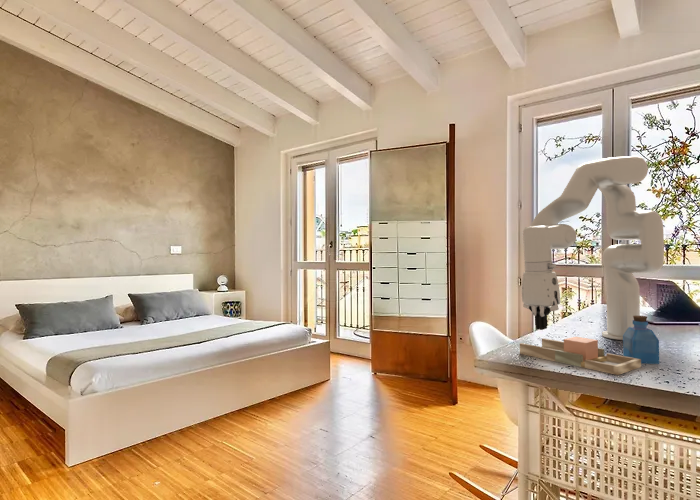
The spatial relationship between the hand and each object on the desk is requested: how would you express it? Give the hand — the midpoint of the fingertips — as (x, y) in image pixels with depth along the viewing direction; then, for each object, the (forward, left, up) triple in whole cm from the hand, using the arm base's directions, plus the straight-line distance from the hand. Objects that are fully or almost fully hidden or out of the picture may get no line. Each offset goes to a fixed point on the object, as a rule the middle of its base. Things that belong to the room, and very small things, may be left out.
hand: (541, 328), depth 129 cm
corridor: (+1, +11, -7) cm, 13 cm away
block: (+2, +13, -7) cm, 14 cm away
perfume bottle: (-12, +22, -7) cm, 26 cm away
